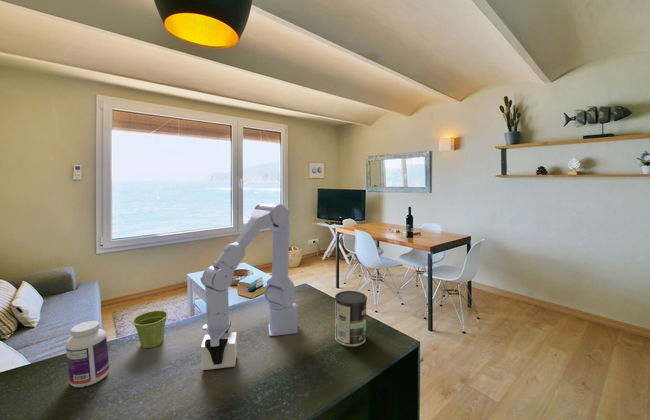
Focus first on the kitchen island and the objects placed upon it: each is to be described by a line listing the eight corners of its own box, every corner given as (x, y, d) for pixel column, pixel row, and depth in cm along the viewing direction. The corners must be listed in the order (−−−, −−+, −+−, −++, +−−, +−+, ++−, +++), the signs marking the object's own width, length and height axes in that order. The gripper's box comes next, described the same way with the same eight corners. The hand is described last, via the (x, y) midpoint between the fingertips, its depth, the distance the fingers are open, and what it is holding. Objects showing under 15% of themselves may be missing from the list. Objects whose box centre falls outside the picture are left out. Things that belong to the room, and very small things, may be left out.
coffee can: (366, 331, 99) (367, 291, 97) (365, 348, 89) (366, 304, 87) (337, 328, 101) (337, 289, 99) (332, 344, 91) (332, 301, 89)
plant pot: (142, 356, 84) (140, 328, 83) (129, 345, 90) (127, 318, 89) (174, 342, 92) (173, 316, 91) (161, 332, 97) (159, 307, 96)
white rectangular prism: (236, 353, 85) (236, 332, 84) (235, 366, 79) (234, 343, 78) (205, 356, 83) (205, 334, 82) (201, 370, 77) (200, 346, 76)
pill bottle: (104, 364, 81) (100, 315, 79) (113, 376, 76) (109, 324, 74) (66, 379, 74) (61, 326, 73) (73, 394, 69) (67, 338, 68)
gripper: (206, 300, 85) (208, 343, 87) (196, 324, 71) (198, 375, 73) (231, 298, 87) (233, 340, 88) (226, 321, 73) (228, 371, 74)
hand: (219, 356), depth 81 cm, fingers closed on white rectangular prism, 6 cm apart
